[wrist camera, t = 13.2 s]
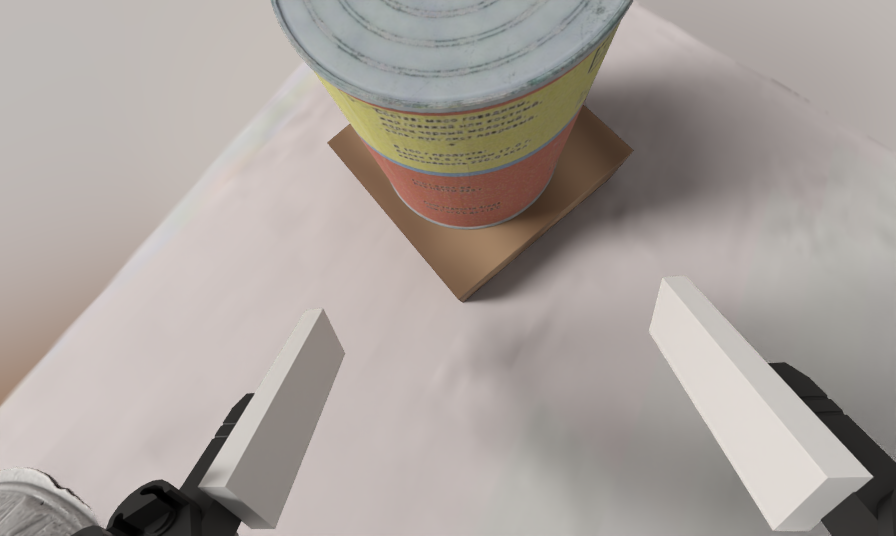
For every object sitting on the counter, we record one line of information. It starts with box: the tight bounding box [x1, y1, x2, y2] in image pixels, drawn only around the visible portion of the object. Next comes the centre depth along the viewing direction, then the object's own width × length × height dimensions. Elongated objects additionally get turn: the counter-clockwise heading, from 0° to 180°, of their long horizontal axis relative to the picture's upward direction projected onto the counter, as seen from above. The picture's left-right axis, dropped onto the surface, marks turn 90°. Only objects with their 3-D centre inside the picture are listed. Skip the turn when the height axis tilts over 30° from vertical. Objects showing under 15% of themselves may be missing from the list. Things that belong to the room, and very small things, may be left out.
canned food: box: [271, 0, 633, 230], centre depth 15 cm, size 11×11×12 cm
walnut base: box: [327, 105, 634, 302], centre depth 23 cm, size 14×14×4 cm
